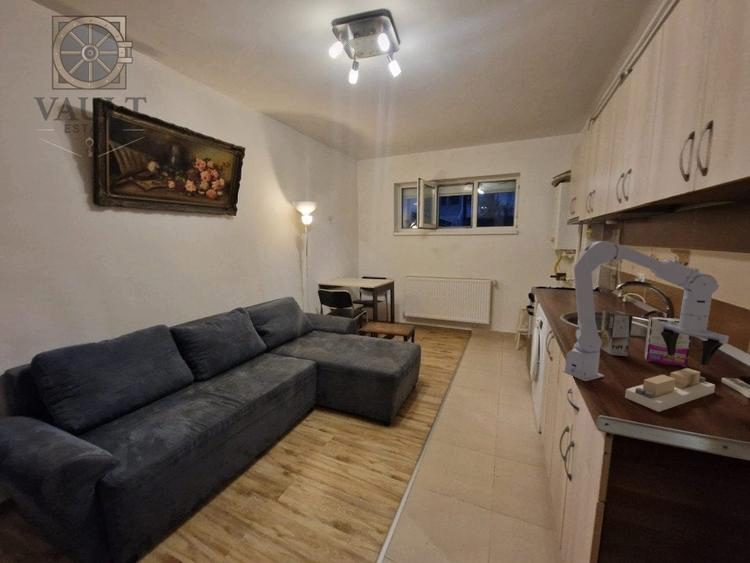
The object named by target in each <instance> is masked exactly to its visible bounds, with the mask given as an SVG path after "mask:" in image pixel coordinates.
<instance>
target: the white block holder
mask: <svg viewBox="0 0 750 563" xmlns="http://www.w3.org/2000/svg"><path fill="white" fill-rule="evenodd" d="M675 380H676V379H675V378H672V377H670V375H669V376H668V375H665V374H659V375H656V376H652V377H649V378H645V379H643V384H640V385H635V386H632V387H629V388H626V389H625V392H624V393H625V395H624V398H626V399H627V400H630V401H632V402H635V403H636V404H639V405H642V406H644V407H646V408H649V409H651V410H653V411H656V412H657V413H658V412H662V411H665V410H668V409H670V408H674V407H677V406H679V405H682V404H685V403H688V402H691V401H695V400H697V399H700V398H702V397H706V396H708V395H711V394H714V393H715V388H716V385H715V383H714V384H713V383H710V382H707V381H706V377H705V376H704V377H703V376H701V375H700V378H699V384H698V385H694V386H691V387H688V388H685V389H679V388H677V387H675Z"/></svg>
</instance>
